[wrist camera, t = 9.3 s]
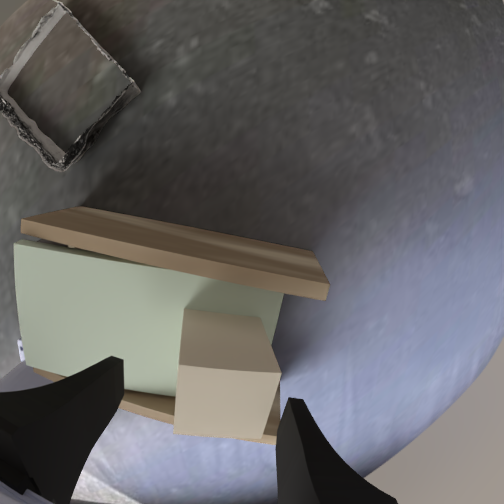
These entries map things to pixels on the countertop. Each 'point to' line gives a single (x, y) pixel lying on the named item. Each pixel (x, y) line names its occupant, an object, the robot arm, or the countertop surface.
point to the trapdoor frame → (183, 260)
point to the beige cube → (224, 376)
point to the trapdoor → (117, 311)
